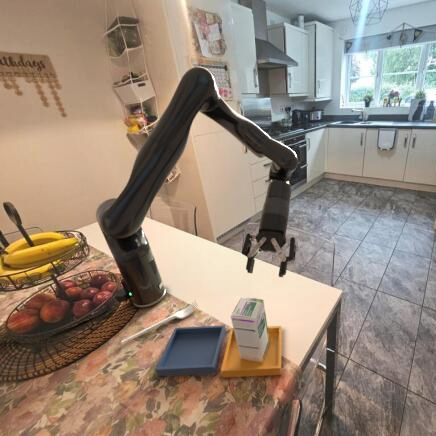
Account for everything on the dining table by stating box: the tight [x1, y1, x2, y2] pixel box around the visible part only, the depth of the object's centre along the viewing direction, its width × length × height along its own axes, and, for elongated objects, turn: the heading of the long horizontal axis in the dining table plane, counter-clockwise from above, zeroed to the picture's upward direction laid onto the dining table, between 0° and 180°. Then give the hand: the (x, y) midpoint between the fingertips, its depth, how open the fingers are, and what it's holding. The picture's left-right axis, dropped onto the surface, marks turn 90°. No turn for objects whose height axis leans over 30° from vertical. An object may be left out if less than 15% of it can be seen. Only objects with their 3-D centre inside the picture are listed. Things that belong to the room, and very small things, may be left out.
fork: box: [120, 300, 199, 345], centre depth 68 cm, size 3×20×2 cm, turn 127°
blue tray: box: [154, 325, 227, 377], centre depth 60 cm, size 13×11×2 cm
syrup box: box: [230, 296, 270, 363], centre depth 56 cm, size 6×6×14 cm
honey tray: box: [220, 325, 283, 379], centre depth 59 cm, size 13×11×2 cm
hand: (264, 275), depth 63 cm, fingers open, 8 cm apart
